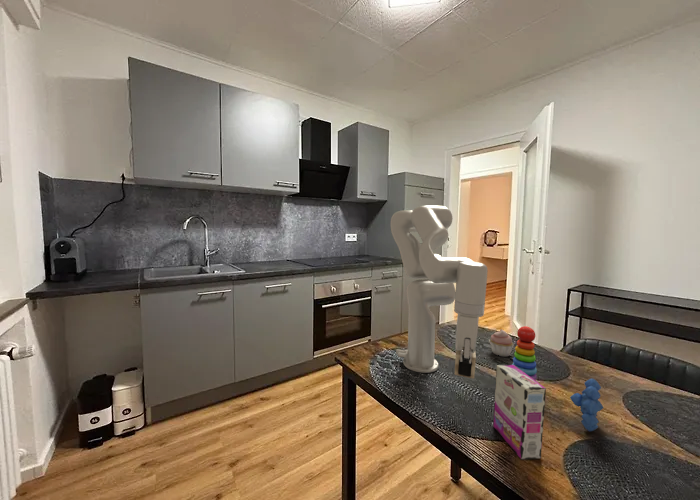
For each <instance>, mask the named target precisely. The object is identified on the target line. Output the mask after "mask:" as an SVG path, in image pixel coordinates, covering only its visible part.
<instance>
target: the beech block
mask: <svg viewBox="0 0 700 500" xmlns="http://www.w3.org/2000/svg"><path fill="white" fill-rule="evenodd" d="M462 349H463V350H464V348H462ZM476 354H477V353H476V351H475V352H474V353H472V358H471V362H472V368H471V376H470V377H468V376H464V375H459V374H458V368H459V360H460V355H461V350H458V351H457V350H456V349H455V361H454V376H459V377H464V378H470V379H475V373H476V372H475V371H476V364H477V363H476V362H477V357H476ZM463 355H464V353H463Z"/></svg>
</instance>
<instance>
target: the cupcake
mask: <svg viewBox="0 0 700 500" xmlns="http://www.w3.org/2000/svg"><path fill="white" fill-rule="evenodd" d="M488 342H489V343H490V347H491V351H492V354H494V355H496V356H498V355H499V357H504V358H505V357H509V356H510V355H511V353H512V350H513V348H514V346H515V342H513V339H512V337H511V335H509V334H508V332H506V331H505V330H503V329H500V330H499V331H496V332H494V333H493V334H491V335H490V338H489V340H488Z"/></svg>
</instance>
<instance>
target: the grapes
mask: <svg viewBox="0 0 700 500" xmlns="http://www.w3.org/2000/svg"><path fill="white" fill-rule="evenodd" d="M584 386H585V388H584V389H583V390H582V391H581V394H580V393H579V392H576V393H573V394H572V395H571V396H570V397H569V399H570V400H571V401H572V402H573V404H574V405H575V406H577V407H579V408H580V412H581V413H582V415H581V419H582V420H580V422H581V424H582V426H583V427H584V428H585V430H586V431H588V432H593V431H595V430H597V429H598V428H599V426H598V423H600V422H599V420H598V418H597V416H598V413H599V412H600V411H602V410H603V409H604V406H603V405H602V403H601V401H600V400H599V399H600V398H601V394H600V392H599V391H600V390H601V388H602V386H601V385H600V384H599V382H598V381H597V380H596V379H595V378H589V379H587V380H586V381H585V382H584Z"/></svg>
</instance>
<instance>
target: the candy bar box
mask: <svg viewBox="0 0 700 500" xmlns="http://www.w3.org/2000/svg"><path fill="white" fill-rule="evenodd" d="M495 373H496V374H495V389H494V390H495V391H494V408H493V423H492V426H493V428H494V429H495V430H496V431H497V432H498V434H499V435H500V436H501V437H502V439H503V440H504V441H505V442H506V443H507V445H508V446H509V447H510V448H511V449H512V450H513V451H514V452H515V454H516V455H517V456H518V457H519V458H520V460H540V459H541V458H542V449H543V432H544V419H545V405H546V404H545V403H546V391H547V388H546V387H545V386H544V385H542V384H541V383H539V382H538V380H537V381H535V380H534V379H532V378H531V377H530V376H528V375H527V374H525V373H524V372H523V371H521V370H520V369H519V368H517V367H516V366H514V365H512V364H503V365H502V364H498V365H497V364H496V370H495Z"/></svg>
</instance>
